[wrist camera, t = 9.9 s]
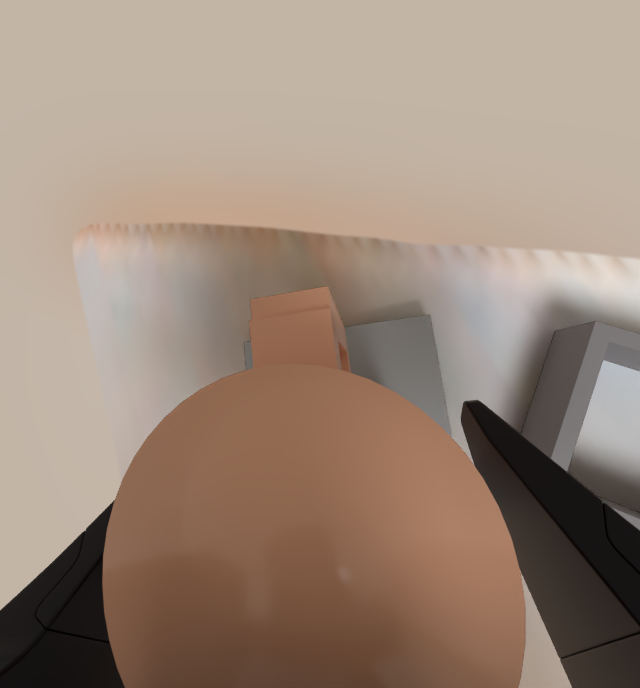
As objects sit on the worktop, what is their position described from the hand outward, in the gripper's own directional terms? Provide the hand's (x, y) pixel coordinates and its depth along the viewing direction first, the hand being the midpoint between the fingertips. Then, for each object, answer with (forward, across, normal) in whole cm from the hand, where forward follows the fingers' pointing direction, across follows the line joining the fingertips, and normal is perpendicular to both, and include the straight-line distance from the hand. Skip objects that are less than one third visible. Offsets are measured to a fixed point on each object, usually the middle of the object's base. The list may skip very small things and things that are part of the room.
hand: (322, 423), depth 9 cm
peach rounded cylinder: (+5, 0, +7) cm, 8 cm away
